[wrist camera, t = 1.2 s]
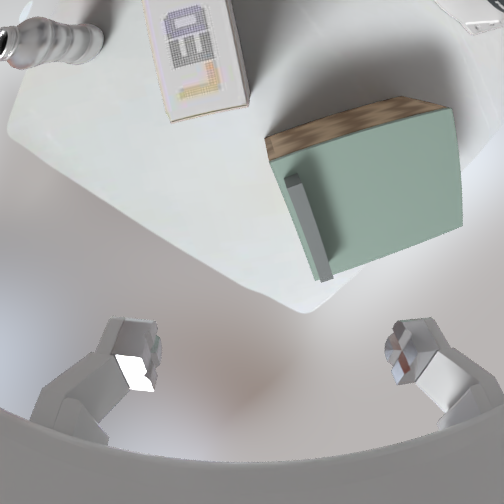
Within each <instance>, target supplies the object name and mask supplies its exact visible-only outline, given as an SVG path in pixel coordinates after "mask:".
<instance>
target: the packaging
mask: <svg viewBox="0 0 504 504" xmlns="http://www.w3.org/2000/svg"><path fill="white" fill-rule="evenodd" d="M141 1H142V7H143V12H144V17H145V22H146V27H147V32H148V37H149V42H150V47H151V51H152V56H153V61H154V65H155V70H156V74H157V78H158V83H159V87H160V91H161V95H162V100H163V104H164V108H165V112H166V114H167V115H168V117H169V119H170V123H171V124H173V123H177V122H181V121H185V120H189V119H193V118H197V117H201V116H206V115H210V114H215V113H220V112H225V111H230V110H235V109H240V108H246V107H248V106H249V102H250V90H249V84H248V79H247V74H246V69H245V64H244V59H243V54H242V49H241V45H240V40H239V35H238V30H237V26H236V21H235V16H234V12H233V7H232V3H231V0H141Z"/></svg>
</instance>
